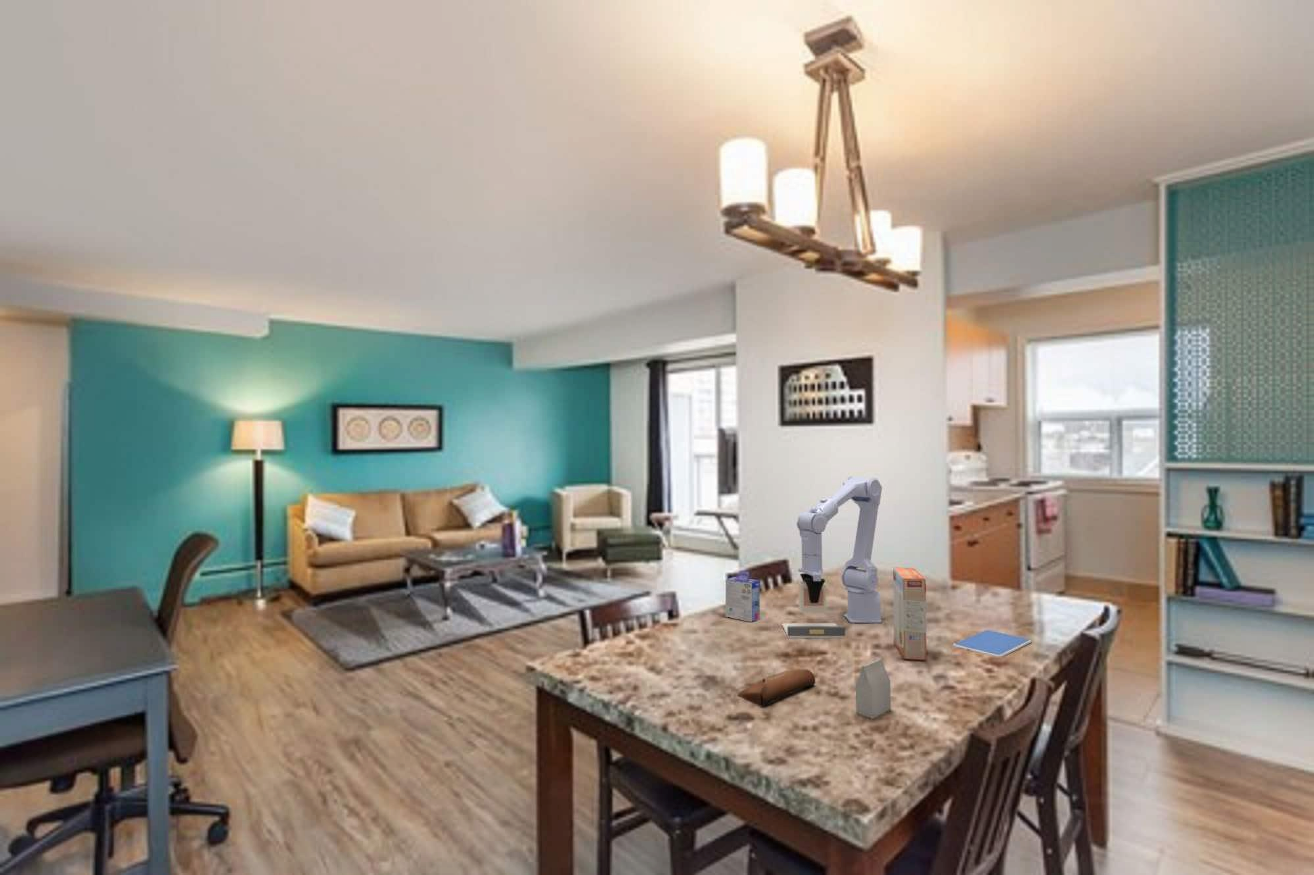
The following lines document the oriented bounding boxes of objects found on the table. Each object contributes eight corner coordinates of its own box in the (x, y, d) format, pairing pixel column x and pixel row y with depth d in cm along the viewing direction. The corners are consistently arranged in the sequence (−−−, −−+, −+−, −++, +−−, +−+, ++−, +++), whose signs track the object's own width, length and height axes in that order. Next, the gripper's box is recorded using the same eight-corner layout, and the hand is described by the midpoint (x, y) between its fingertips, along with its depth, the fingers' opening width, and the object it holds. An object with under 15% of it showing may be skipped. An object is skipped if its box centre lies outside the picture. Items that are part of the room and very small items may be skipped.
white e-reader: (835, 625, 186) (835, 615, 186) (845, 638, 174) (845, 627, 174) (781, 625, 187) (781, 615, 187) (788, 638, 175) (788, 627, 175)
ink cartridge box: (761, 618, 195) (760, 572, 195) (752, 622, 191) (751, 575, 191) (733, 613, 201) (733, 568, 201) (725, 617, 196) (724, 572, 197)
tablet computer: (1000, 660, 157) (1000, 655, 157) (951, 647, 167) (951, 643, 167) (1033, 644, 168) (1033, 639, 168) (985, 633, 178) (985, 628, 178)
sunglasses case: (786, 674, 148) (797, 654, 145) (807, 697, 143) (819, 677, 141) (734, 695, 136) (745, 673, 134) (755, 721, 132) (767, 699, 129)
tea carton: (799, 608, 182) (798, 581, 182) (823, 608, 182) (822, 581, 182) (801, 612, 178) (801, 584, 178) (826, 612, 177) (825, 584, 178)
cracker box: (928, 661, 155) (926, 578, 155) (902, 660, 156) (901, 577, 156) (916, 643, 169) (915, 566, 169) (893, 642, 170) (891, 566, 170)
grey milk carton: (890, 709, 128) (889, 661, 128) (872, 718, 124) (871, 669, 124) (874, 703, 131) (873, 656, 131) (856, 712, 127) (855, 664, 127)
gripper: (793, 549, 187) (794, 594, 187) (802, 558, 173) (803, 607, 173) (817, 549, 187) (818, 594, 187) (828, 558, 172) (828, 607, 172)
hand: (812, 600), depth 180 cm, fingers closed on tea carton, 4 cm apart
